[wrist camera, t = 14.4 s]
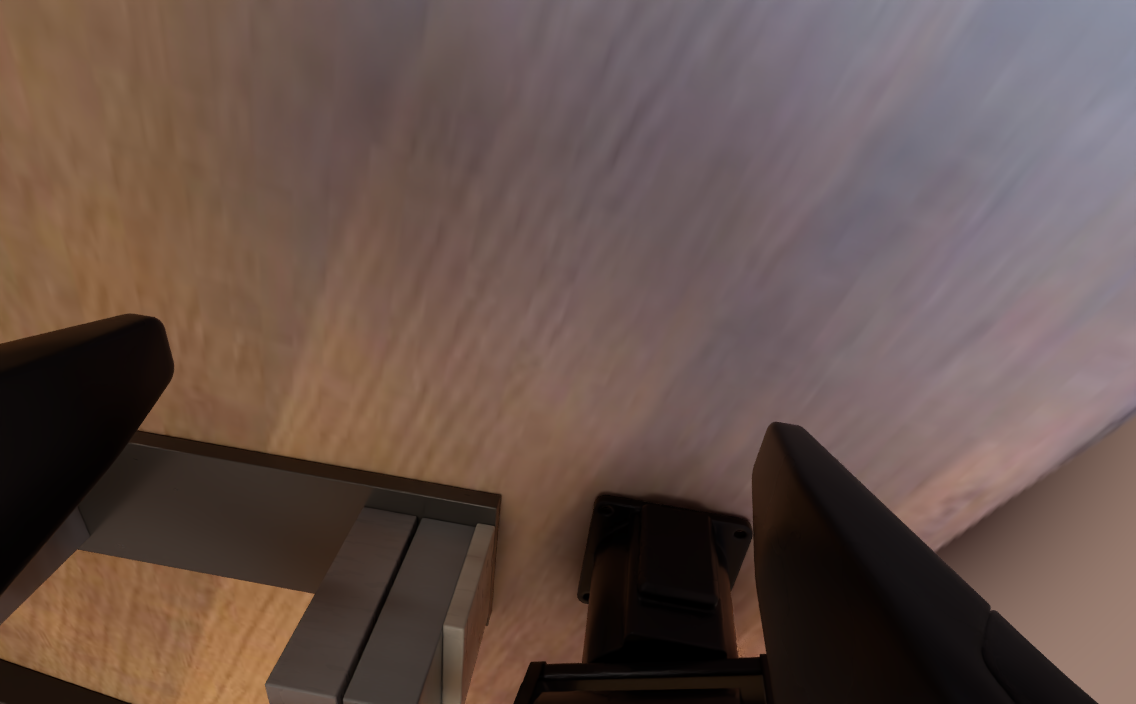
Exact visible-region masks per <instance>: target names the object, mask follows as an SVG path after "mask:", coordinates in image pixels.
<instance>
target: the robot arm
mask: <svg viewBox="0 0 1136 704" xmlns="http://www.w3.org/2000/svg"><path fill="white" fill-rule="evenodd" d="M173 373H174V362H173V358H172V354H171V350H170V346H169V342H168V338H167V334H166V331H165V327H164V325H163V324H162V322H161V321H160V320H159V319H157V318H155V317H150V316H144V315H138V314H123V315H119V316H115V317H111V318H107V319H103V320H98V321H94V322H90V323H86V324H82V325H77V326H73V327H69V328H65V329H61V330H56V331H52V332H48V333H44V334H40V335H35V336H31V337H27V338H23V339H19V340H15V341H10V342H6V343H2V344H0V597H1V596H2V595H3V593H4V592H5V591H6V590H7V589H8V587H9V586H10V585H11V584H12V583H13V582H14V580H15V579H16V578H17V577H18V576H19V574H20V573H21V572H22V571H23V570H24V569H25V567H26V566H27V565H28V564H29V563H30V562H31V560H32V559H33V558H34V557H35V556H36V554H37V553H38V552H39V551H40V550H41V549H42V547H43V546H44V545H45V544H46V543H47V541H48V540H49V539H50V538H51V537H52V536H53V534H54V533H55V532H56V531H57V530H58V529H59V527H60V526H61V525H62V524H63V523H64V521H65V520H66V519H67V518H68V517H69V516H70V514H71V513H72V512H73V511H74V510H75V508H76V507H77V506H78V505H79V504H80V503H81V501H82V500H83V499H84V498H85V497H86V496H87V494H88V493H89V492H90V491H91V490H92V488H93V487H94V486H95V485H96V484H97V483H98V481H99V480H100V479H101V478H102V477H103V475H104V474H105V473H106V472H107V471H108V469H109V468H110V467H111V466H112V464H113V463H114V462H115V461H116V459H117V458H118V456H119V455H120V454H121V452H122V451H123V450H124V448H125V447H126V445H127V444H128V442H129V441H130V439H131V438H132V437H133V435H134V434H135V432H136V431H137V429H138V428H139V426H140V425H141V423H142V422H143V421H144V419H145V418H146V416H147V415H148V413H149V412H150V410H151V409H152V407H153V406H154V405H155V403H156V402H157V400H158V399H159V397H160V396H161V394H162V393H163V391H164V390H165V389H166V387H167V386H168V384H169V383H170V381H171V379H172V377H173ZM752 504H753V532H752V526H751V524H750V522H748V521H747V520H745V519H741V518H735V517H730V516H724V515H718V514H713V513H707V512H701V511H696V510H690V509H684V508H678V507H673V506H667V505H661V504H656V503H650V502H644V501H639V500H633V499H627V498H621V497H616V496H610V495H602V496H599V497H598V498H596V500H595V502H594V507H593V512H592V518H591V523H590V528H589V534H588V539H587V544H586V549H585V555H584V560H583V565H582V570H581V576H580V581H579V586H578V593H577V597H578V599H579V600H580V601H581V602H583V603H586V604H589V605H588V614H587V623H586V632H585V641H584V649H583V658H582V663H562V664H547V663H546V661H541V662H531V663H530V665H529V667H528V670H527V672H526V675H525V677H524V680H523V682H522V684H521V686H520V688H519V691H518V693H517V696H516V699H515V701H514V704H1098V703H1097V702H1096V701H1095V700H1093V699H1092V698H1091V697H1090V696H1089V695H1088V694H1087V693H1085V692H1084V691H1083V690H1082V689H1081V688H1080V687H1078V686H1077V685H1076V684H1075V683H1074V682H1073V681H1072V680H1070V679H1069V678H1068V677H1067V676H1066V675H1065V674H1064V673H1063V672H1061V671H1060V670H1059V669H1058V668H1057V667H1056V666H1055V665H1054V664H1053V663H1052V662H1051V661H1049V660H1048V659H1047V658H1046V657H1045V656H1044V655H1043V654H1042V653H1041V652H1040V651H1039V650H1037V649H1036V648H1035V647H1034V646H1033V645H1032V644H1031V643H1030V642H1029V641H1028V640H1027V639H1026V638H1024V637H1023V636H1022V635H1021V634H1020V633H1019V632H1018V631H1017V630H1016V629H1015V628H1014V627H1013V626H1012V625H1010V623H1009V622H1008V621H1007V620H1005V619H1004V618H1003V617H1002V616H1001V615H1000V614H999V613H998V612H997V611H995V610H992V611H990V609H991V608H990V605H989V604H988V603H987V602H986V601H985V600H984V599H983V598H982V597H981V596H980V595H979V594H978V593H977V592H976V591H974V589H973V588H971V587H970V586H969V585H968V584H967V583H966V582H965V581H964V580H963V579H962V578H961V577H960V576H959V575H958V574H956V572H955V571H954V570H953V569H951V568H950V567H949V566H948V565H947V564H946V563H945V562H944V561H943V560H942V559H941V558H940V557H939V556H938V555H937V554H936V553H935V552H934V551H933V550H931V549H930V548H929V547H928V546H927V545H926V544H925V543H924V542H923V541H922V540H921V539H920V538H919V537H918V536H917V535H916V534H915V533H914V532H912V531H911V530H910V529H909V528H908V527H907V526H906V525H905V524H904V523H903V522H902V521H901V520H900V519H899V518H898V517H897V516H896V515H895V514H894V513H892V512H891V511H890V510H889V509H888V508H887V507H886V506H885V505H884V504H883V503H882V502H881V501H880V500H879V499H878V498H877V497H876V496H875V495H873V494H872V493H871V492H870V491H869V490H868V489H867V488H866V487H865V486H864V485H863V484H862V483H861V482H860V481H859V480H858V479H857V478H856V477H855V476H853V475H852V474H851V473H850V472H849V471H848V470H847V469H846V468H845V467H844V466H843V465H842V464H841V463H840V462H839V461H838V460H837V459H836V458H835V457H833V456H832V455H831V454H830V453H829V452H828V451H827V450H826V449H825V448H824V447H823V446H822V445H821V444H820V443H819V442H818V441H817V440H816V439H814V438H813V437H812V436H811V435H810V434H809V433H808V432H807V431H806V430H805V429H804V428H803V427H801V426H799V425H793V424H787V423H781V422H773V423H771V424H770V425H769V427H768V428H767V431H766V433H765V436H764V439H763V442H762V444H761V447H760V450H759V453H758V455H757V458H756V461H755V464H754V468H753V473H752ZM603 506H607V507H610V508H603ZM738 530H742V531H741V532H737V531H738ZM752 536H753V538H754V566H755V580H756V588H757V595H758V602H759V608H760V615H761V621H762V628H763V634H764V641H765V647H766V654H760V657H748V658H738V653H737V644H736V635H735V626H734V617H733V608H732V600H731V591H732V588H733V585H734V583H735V580H736V578H737V575H738V573H739V570H740V567H741V565H742V562H743V560H744V557H745V555H746V552H747V549H748V547H749V544H750V542H751V539H752Z"/></svg>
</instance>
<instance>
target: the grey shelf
mask: <svg viewBox="0 0 1136 704" xmlns="http://www.w3.org/2000/svg"><path fill="white" fill-rule="evenodd" d="M500 499H501V496H500V495H495V494H489V493H483V492H478V491H472V490H466V489H461V488H455V487H449V486H444V485H438V484H432V483H427V482H421V481H415V480H410V479H404V478H398V477H393V476H387V475H382V474H376V473H370V472H365V471H359V470H353V469H348V468H342V467H336V466H331V465H325V464H319V463H314V462H308V461H302V460H297V459H291V458H285V457H280V456H274V455H268V454H263V453H257V452H251V451H246V450H240V449H235V448H229V447H223V446H218V445H212V444H206V443H201V442H195V441H189V440H184V439H178V438H172V437H167V436H161V435H155V434H150V433H144V432H138V431H136V432H135V434H134V435H133V437H132V438H131V439H130V441H129V442H128V444H127V445H126V447H125V448H124V450H123V451H122V452H121V454H120V455H119V456H118V458H117V459H116V461H115V462H114V463H113V464H112V466H111V467H110V468H109V469H108V471H107V472H106V473H105V474H104V475H103V477H102V478H101V479H100V480H99V481H98V483H97V484H96V485H95V486H94V487H93V488H92V490H91V491H90V492H89V493H88V494H87V496H86V497H85V498H84V499H83V500H82V501H81V503H80V504H79V505H78V506H77V507H76V508H75V510H74V511H73V512H72V513H71V514H70V516H69V517H68V518H67V519H66V520H65V521H64V523H63V524H62V525H61V526H60V527H59V529H58V530H57V531H56V532H55V533H54V534H53V536H52V537H51V538H50V539H49V540H48V541H47V543H46V544H45V545H44V546H43V547H42V549H41V550H40V551H39V552H38V553H37V554H36V556H35V557H34V558H33V559H32V560H31V562H30V563H29V564H28V565H27V566H26V567H25V569H24V570H23V571H22V572H21V573H20V574H19V576H18V577H17V578H16V579H15V580H14V582H13V583H12V584H11V585H10V586H9V587H8V589H7V590H6V591H5V592H4V593H3V595H2V596H1V597H0V625H1V624H2V623H3V622H4V621H5V620H6V619H7V618H8V617H9V616H10V615H11V614H12V613H13V612H14V611H15V610H16V609H17V608H18V607H19V606H20V605H21V604H22V603H23V602H24V601H25V600H26V599H27V598H28V597H29V596H30V595H31V594H32V593H33V592H34V591H35V590H36V589H37V588H38V587H39V586H40V585H41V584H42V583H43V582H45V581H46V580H47V579H48V578H49V577H50V576H51V575H52V574H53V573H54V572H55V571H56V570H57V569H58V568H59V567H60V566H61V565H62V564H63V563H64V562H65V561H66V560H67V559H68V558H69V557H70V556H71V555H72V554H73V553H74V552H75V551H76V550H77V549H78V550H83V551H89V552H94V553H99V554H105V555H110V556H115V557H121V558H126V559H132V560H137V561H142V562H148V563H153V564H158V565H164V566H169V567H174V568H180V569H185V570H190V571H196V572H201V573H206V574H212V575H217V576H222V577H228V578H233V579H238V580H244V581H249V582H254V583H260V584H265V585H271V586H276V587H281V588H287V589H292V590H297V591H303V592H308V593H313V594H315V595H314V597H313V599H312V600H311V602H310V604H309V606H308V608H307V609H306V611H305V613H304V615H303V617H302V618H301V620H300V622H299V624H298V626H297V627H296V629H295V631H294V633H293V634H292V636H291V638H290V640H289V642H288V643H287V645H286V647H285V649H284V651H283V652H282V654H281V656H280V658H279V660H278V661H277V663H276V665H275V667H274V669H273V670H272V672H271V674H270V676H269V678H268V679H267V681H266V683H265V687H266V691H267V695H268V699H269V703H270V704H465V700H466V696H467V693H468V689H469V685H470V681H471V678H472V674H473V670H474V667H475V663H476V659H477V655H478V652H479V648H480V644H481V640H482V637H483V633H484V629H485V626H488V624H489V620H490V616H491V612H492V599H493V587H494V574H495V562H496V549H497V537H498V524H499V512H500Z"/></svg>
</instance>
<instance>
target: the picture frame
mask: <svg viewBox="0 0 1136 704" xmlns="http://www.w3.org/2000/svg"><path fill="white" fill-rule="evenodd" d="M0 704H127V703H124V702H121V701H119V700H116V699H113V698H110V697H107V696H104V695H101V694H98V693H95V692H92V691H90V690H87V689H84V688H81V687H78V686H75V685H72V684H69V683H66V682H63V681H61V680H58V679H55V678H52V677H49V676H46V675H43V674H40V673H37V672H35V671H32V670H29V669H26V668H23V667H20V666H17V665H14V664H11V663H8V662H6V661H3V660H0Z"/></svg>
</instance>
